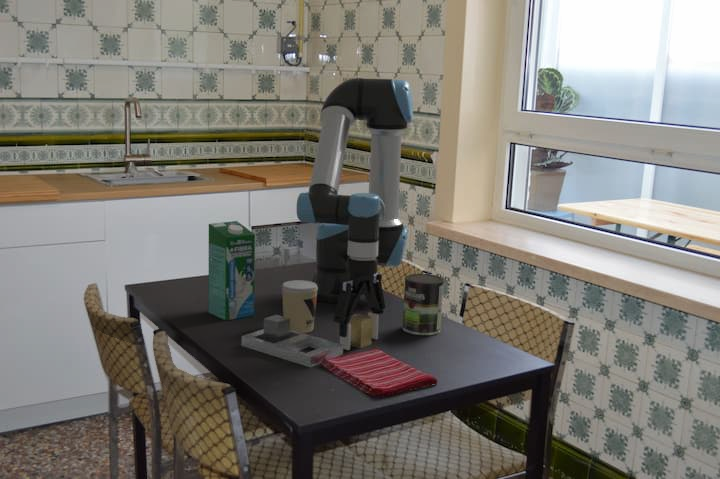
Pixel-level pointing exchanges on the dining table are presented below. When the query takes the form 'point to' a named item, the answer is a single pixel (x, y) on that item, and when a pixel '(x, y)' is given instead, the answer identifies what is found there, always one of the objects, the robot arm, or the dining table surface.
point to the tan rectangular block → (361, 330)
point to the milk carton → (231, 270)
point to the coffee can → (422, 304)
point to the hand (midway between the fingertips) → (359, 343)
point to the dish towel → (377, 373)
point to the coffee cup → (300, 304)
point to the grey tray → (294, 347)
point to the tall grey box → (276, 328)
